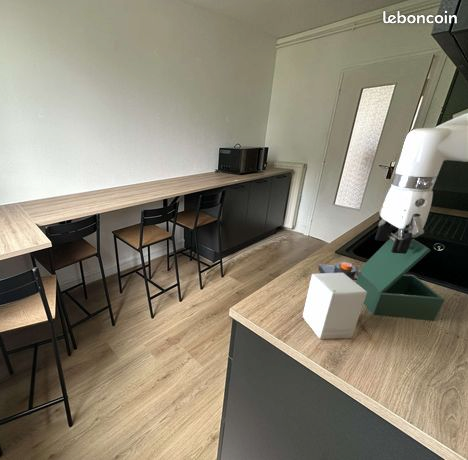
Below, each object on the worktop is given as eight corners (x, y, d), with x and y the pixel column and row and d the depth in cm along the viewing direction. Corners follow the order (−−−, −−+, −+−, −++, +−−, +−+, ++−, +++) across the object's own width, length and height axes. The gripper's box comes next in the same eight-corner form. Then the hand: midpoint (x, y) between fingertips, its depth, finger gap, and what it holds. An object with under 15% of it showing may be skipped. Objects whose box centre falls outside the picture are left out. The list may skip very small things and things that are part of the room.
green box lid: (400, 231, 72) (386, 224, 72) (431, 250, 62) (414, 241, 62) (361, 270, 79) (348, 264, 79) (382, 293, 68) (367, 286, 69)
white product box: (353, 338, 66) (369, 292, 60) (319, 340, 66) (332, 293, 60) (331, 314, 74) (343, 271, 68) (301, 315, 74) (311, 273, 69)
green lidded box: (404, 298, 80) (414, 275, 76) (432, 325, 69) (445, 299, 66) (352, 293, 83) (359, 271, 79) (371, 319, 72) (380, 294, 69)
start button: (348, 266, 91) (349, 262, 90) (352, 271, 88) (354, 267, 88) (338, 265, 92) (339, 261, 91) (342, 270, 89) (343, 266, 88)
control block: (347, 271, 94) (350, 262, 93) (358, 284, 87) (361, 274, 86) (318, 269, 96) (320, 260, 95) (326, 281, 89) (328, 272, 88)
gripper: (461, 191, 53) (429, 263, 60) (406, 174, 69) (386, 234, 76) (419, 190, 55) (393, 261, 62) (375, 174, 70) (358, 232, 77)
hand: (389, 245), depth 69 cm, fingers open, 6 cm apart
